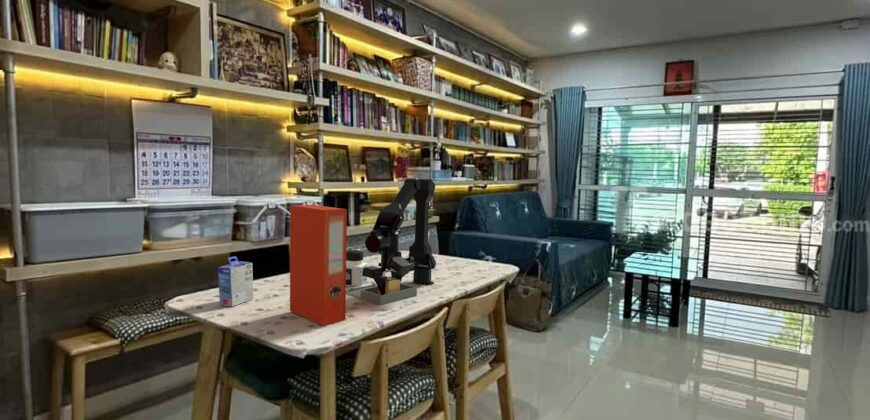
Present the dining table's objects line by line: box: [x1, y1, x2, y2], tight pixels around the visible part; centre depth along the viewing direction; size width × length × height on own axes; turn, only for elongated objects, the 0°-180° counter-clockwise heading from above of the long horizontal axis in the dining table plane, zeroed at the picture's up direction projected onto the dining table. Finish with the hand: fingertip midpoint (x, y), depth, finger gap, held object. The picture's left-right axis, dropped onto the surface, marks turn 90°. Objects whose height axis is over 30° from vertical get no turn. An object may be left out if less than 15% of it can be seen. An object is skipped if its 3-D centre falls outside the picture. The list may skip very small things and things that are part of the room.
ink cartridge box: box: [217, 255, 254, 308], centre depth 148 cm, size 10×6×14 cm, turn 161°
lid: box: [346, 282, 377, 299], centre depth 163 cm, size 16×10×2 cm, turn 137°
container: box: [346, 248, 368, 288], centre depth 174 cm, size 8×8×13 cm
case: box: [360, 282, 418, 306], centre depth 156 cm, size 16×11×4 cm, turn 137°
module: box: [379, 276, 401, 295], centre depth 156 cm, size 5×5×6 cm
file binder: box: [289, 204, 348, 326], centre depth 136 cm, size 8×17×32 cm, turn 46°
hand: (389, 294), depth 156 cm, fingers closed on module, 5 cm apart
